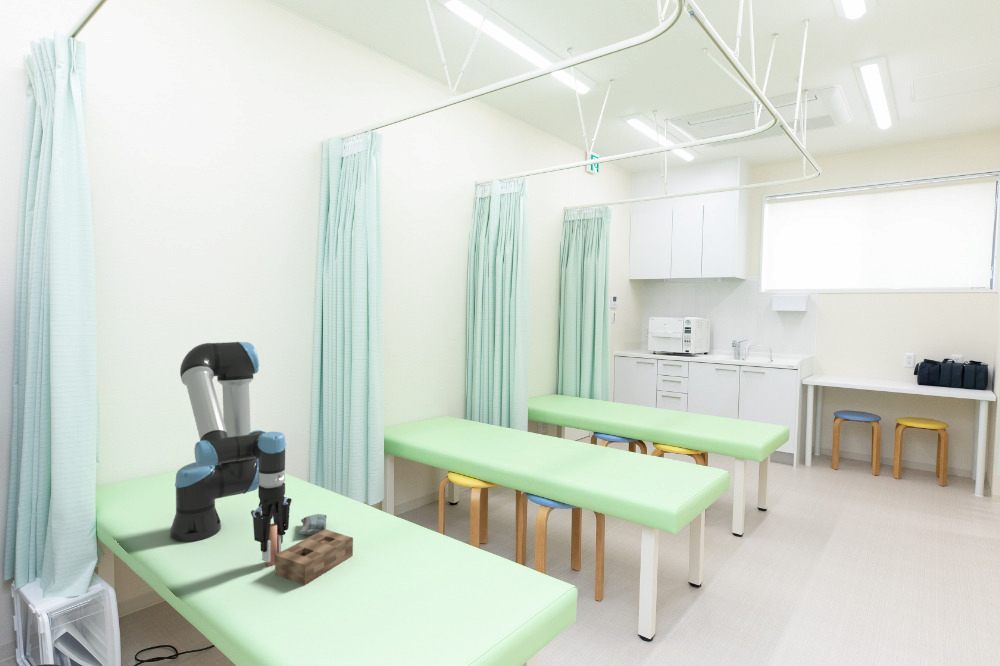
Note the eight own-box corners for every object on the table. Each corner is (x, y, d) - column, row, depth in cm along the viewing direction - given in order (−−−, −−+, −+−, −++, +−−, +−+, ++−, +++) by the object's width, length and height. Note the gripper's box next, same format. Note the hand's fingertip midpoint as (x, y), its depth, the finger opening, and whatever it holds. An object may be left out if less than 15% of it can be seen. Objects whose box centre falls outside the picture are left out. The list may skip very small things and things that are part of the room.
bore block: (275, 574, 161) (275, 554, 160) (324, 546, 179) (324, 529, 178) (304, 585, 156) (304, 565, 155) (352, 555, 174) (352, 537, 173)
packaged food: (299, 539, 183) (299, 525, 183) (301, 525, 195) (301, 511, 194) (326, 537, 186) (326, 523, 186) (326, 522, 197) (326, 509, 197)
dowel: (264, 564, 166) (264, 526, 165) (272, 559, 169) (272, 522, 168) (271, 566, 165) (271, 528, 164) (279, 562, 168) (279, 524, 167)
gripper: (257, 494, 156) (257, 573, 158) (301, 478, 171) (301, 549, 173) (239, 489, 159) (240, 566, 161) (284, 473, 174) (284, 544, 176)
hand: (271, 557), depth 167 cm, fingers open, 3 cm apart
